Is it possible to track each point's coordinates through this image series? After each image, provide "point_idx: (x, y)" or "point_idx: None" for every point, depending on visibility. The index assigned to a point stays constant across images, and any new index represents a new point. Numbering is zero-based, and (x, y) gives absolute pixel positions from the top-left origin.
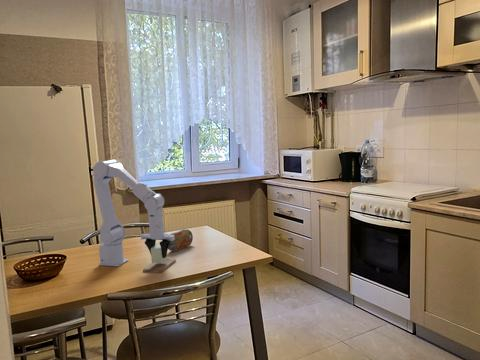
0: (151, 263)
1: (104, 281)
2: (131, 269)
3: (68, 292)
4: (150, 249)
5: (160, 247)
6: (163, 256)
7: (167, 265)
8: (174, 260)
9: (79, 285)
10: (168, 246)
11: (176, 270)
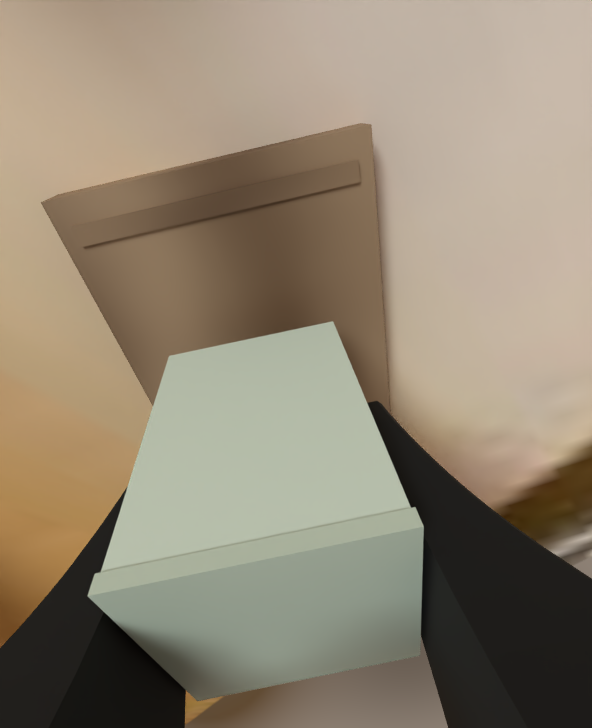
0: (151, 399)
1: None
2: (64, 505)
3: None
4: None
5: (372, 636)
6: None
7: (383, 367)
8: (374, 177)
9: None
10: (517, 531)
11: (504, 370)
